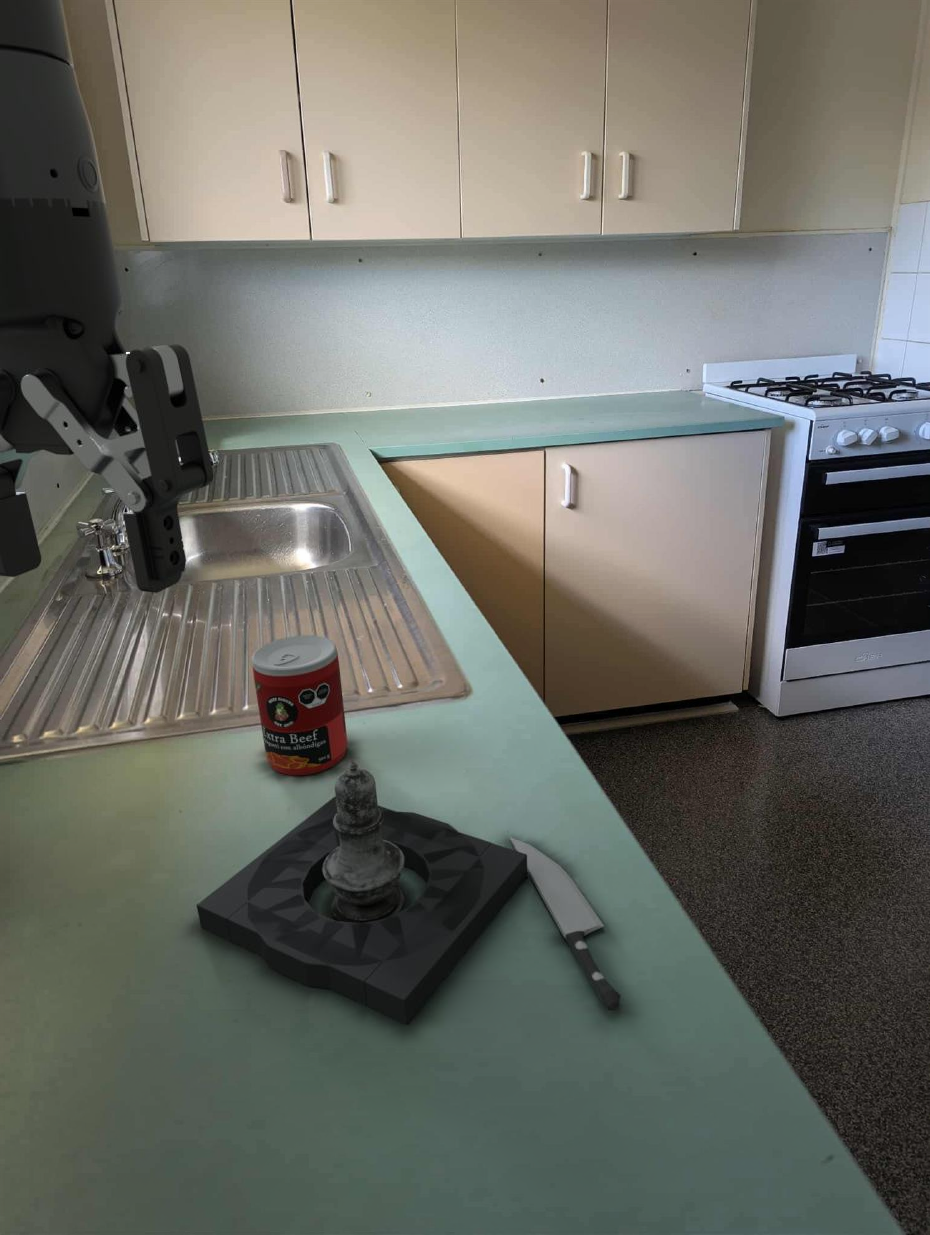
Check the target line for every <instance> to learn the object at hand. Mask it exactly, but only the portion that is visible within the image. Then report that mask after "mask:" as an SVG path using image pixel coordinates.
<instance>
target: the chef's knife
mask: <svg viewBox="0 0 930 1235" xmlns="http://www.w3.org/2000/svg"><path fill="white" fill-rule="evenodd" d="M509 839H510V841H511V843H512V845H513V847H514V850H515V851H518V852H521V853H524V854H527V874H528V875H529V877H530V880H531V881H532V883H533V884H534V886H535V888H536V889H537V891H538V894H539V895H540V897H541V898H542V901H543V902H544V904H545V906H546V908H547V910H548V911H549V912H550V914H551V916H552V918H553V921H554V922H555V924H556V926H557V927H558V929H559V931H560V933H561V934H562V937H563V938H564V940H565V941H566V943H567V944H568V946H569V948H570V949H571V950H572V952H573V953H574V955H575V957H576V958H577V961H578V962H579V964H580V966H581V967H582V969H583V972H584V973H585V975H586V976H587V979H588V980H589V982H590V984H591V986H592V987H593V989H594V991H595V992H596V994H597V996H598V998H599V1000H600V1001H601V1003H602V1005H603V1006H604V1008H606V1009H607V1011H611V1012H612V1011H615V1010H616V1009H618V1007H619V1006H620V1002H621V996H622V995H621V994H620V992H618V990H616V989H615V988H614V987H613V986H612V985H611V984H610V982H609V981H608V980H607V979H606V978H605V977H604V976H603V974H602V972H601V970H600V969H599V967H598V965H597V963H596V961H595V959H594V957H593V955H592V954H591V950H590V949H589V947H588V945H587V943H586V941H585V939H584V936H587V935H589V934H591V933H593V932H595V931H598V930H599V929H602V928H604V927H605V925H604V923H603V922H602V920H600V918H599V916H598V915H597V914H596V912H595V911H594V909H593V908H592V906H591V905H590V903H589V902H588V900H587V899H586V897H585V896H584V895H583V893H582V892H581V891H580V889H579V888H578V886H577V884H576V883H575V882H574V881H573V879H572V877H571V876H570V875H569V874H568V873H567V871H566V870H564V869H563V868H562V867H561V865H560V864H558V863H557V862H555V861H554V860H553V859H552V858H550V857H548V856H547V855H546V854H545V853H543V852H541V851H540V850H538V849H537V848H536V847H534V846H533V845H531V844H530V843H527V842H524V841H521V840H519V839H516V838H514V837H511V836H509Z"/></svg>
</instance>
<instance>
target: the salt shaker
mask: <svg viewBox="0 0 930 1235" xmlns="http://www.w3.org/2000/svg"><path fill="white" fill-rule="evenodd" d="M347 768H348V769H346V770H345V771H343V772H341V773H340V774H339V775H338V777H337V778H336V780H335V782H334V796H336V804H337V812H338V813H337V814H336V815H335V817H334V820H333V824H334V827H335V828H336V829H337V830H338V831H339V838H340V846H339V847H337V848H336V849H334V850H333V851H332V852H331V853H330V854H329V855H328V856H327V857H326V859H325V861H324V863H323V869H322V870H323V874H324V877H325V879H324V880H326V881H327V882H328V884H329V886H330V888H331V890H332V891H333V893H334V894H335V895H334V897H333V899H332V901H331V911H332V915H333V917H334V918H335V920H336V921H340V922H353V923H365V922H370V921H375V920H380V919H385V918H389V917H391V916H393V915H395V914H397V913H399V912H401V911H402V910H403V906H404V903H405V897H404V896H405V895H404V893H403V890H402V889H401V888H400V887H399V886H398V883H399V880H400V877H401V874H402V871H403V869H404V867H405V866H404V855H403V853H402V851H401V850H400V849H399V848H398V847H397V846H396V845H394V844H393V843H391V842H389V841H386V840H382V833H381V824H382V822H383V820H384V813H383V811H382V810H381V809H380V808H379V807H378V806H379V805H378V804H379V803H378V794H377V784H376V783H377V782H376V780H375V777H374V775H373V774H372V773H371V772H370V771H369V770H366V769H364V768H359V764H358V763H356V762H355V761H354V760H351V762H350V763H349V764H348V766H347Z"/></svg>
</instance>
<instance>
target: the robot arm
mask: <svg viewBox="0 0 930 1235" xmlns="http://www.w3.org/2000/svg"><path fill="white" fill-rule="evenodd" d="M74 68H75V64H74V58H73V53H72V48H71V43H70V38H69V32H68V26H67V20H66V15H65V10H64V5H63V0H0V576H1V577H9V578H16V577H19V576H21V575H23V574H26V573H29V572H30V571H33V570H36V569H37V568H39V567H40V565H41V563H42V554H41V550H40V546H39V542H38V538H37V533H36V528H35V525H34V521H33V516H32V512H31V508H30V504H29V500H28V496H27V495H28V494H27V492H22V491H16V490H18V489H20V488H21V487H22V485H23V481H24V478H25V476H26V472H27V470H28V466H29V464H30V462H31V459H32V458H34V457H35V456H37V454H38V453H40V451H46V452H48V453H51V454H54V455H59V456H60V455H61V456H62V455H63V456H72V455H75V456H76V458H77V459H78V461H80V463H81V465H82V466H83V467H84V468H85V469H86V470H88V471H89V472H91V473H94V474H97V475H100V476H101V477H102V478H104V480H105V481H106V482H107V484H108V485H109V486H110V487H111V489H112V490H113V491H114V492H115V494H116V495H117V496H118V498H119V499H120V501H121V502H122V503H123V504H124V505H125V507H126V508H127V509H128V510H129V511H126V512H123V513H122V515H123V521H124V525H125V530H126V536H127V541H128V546H129V551H130V557H131V561H132V566H133V571H134V577H135V582H136V587H137V588H138V589H139V590H140V591H141V592H146V593H155V594H158V593H160V592H162V591H164V590H167V589H168V588H170V587H173V586H174V585H176V584H178V583H179V582H180V581H181V579H182V574H183V572H185V571H186V570H185V569H186V565H187V558H186V557H187V556H186V552H185V549H184V548H185V546H184V541H183V534H182V528H181V523H180V517H179V511H178V504H179V500H180V499H181V497H183V496H185V495H187V494H189V493H192V492H194V491H197V490H199V489H202V488H205V487H207V486H210V485H211V484H212V482H213V480H214V469H213V466H212V460H211V454H210V450H209V446H208V441H207V436H206V430H205V426H204V420H203V417H202V411H201V407H200V402H199V397H198V393H197V387H196V383H195V382H196V381H195V377H194V373H193V368H192V363H191V359H190V355H189V353H188V351H187V350H186V348H185V347H184V346H182V345H180V344H178V343H177V344H176V343H174V344H168V345H166V344H162V345H155V346H147V347H144V348H139V349H132V350H130V351H129V352H128V351H127V349H126V348H125V346H124V344H123V342H122V340H121V338H120V336H119V333H118V331H117V318H118V316H119V315H120V314H121V313H122V312H123V310H124V307H125V301H124V296H123V289H122V285H121V284H122V283H121V279H120V274H119V268H118V263H117V257H116V251H115V246H114V241H113V234H112V230H111V223H110V218H109V212H108V207H107V202H106V196H105V191H104V184H103V179H102V175H101V174H102V173H101V169H100V163H99V157H98V152H97V147H96V143H95V137H94V133H93V129H92V125H91V122H90V119H89V116H88V113H87V109H86V106H85V102H84V100H83V97H82V93H81V90H80V86H79V82H78V77H77V73H76V70H75V69H74ZM128 399H130V400H131V399H133V402H134V406H135V407H134V406H133V404H131V403H130V401H129V400H128ZM113 431H115V432H116V434H117V435H118V437H113V438H110V437H111V435H112V433H113ZM134 468H135V469H134ZM136 470H137V471H138V472H137V471H136ZM139 474H140V475H139ZM141 477H142V478H141Z"/></svg>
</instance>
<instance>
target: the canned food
mask: <svg viewBox="0 0 930 1235" xmlns="http://www.w3.org/2000/svg"><path fill="white" fill-rule="evenodd" d="M338 652H339V651H338V648H337V644H336V643H335V642H334V641H333V640H332V639H330V638H329V637H325V636H319V635H312V634H311V635H309V634H304V635H303V634H302V635H292V636H287V637H283V638H279V639H275V640H272V641H270V642H268V643H265V644H264V645H261V646H260V647H259V648H257V649H256V650H255V651H254V652H253V654H252V656H251V667H252V675H253V682H254V688H255V695H256V701H257V707H258V714H259V721H260V726H261V732H262V740H263V746H264V752H265V757H266V760H267V761H268V764H269V765H270V767H271V768H272V769H273V770H275V771H276V772H278V773H281V774H284V775H288V776H307V775H312V774H317V773H320V772H323V771H326V770H327V769H330V768H332V767H334V766H335V765H337V764H338V763H339V762H340V761H341V760H342V759H343V758H344V756H345V754H346V751H347V746H348V734H347V726H346V716H345V707H344V705H345V704H344V696H343V686H342V679H341V668H340V660H339V653H338Z"/></svg>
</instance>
